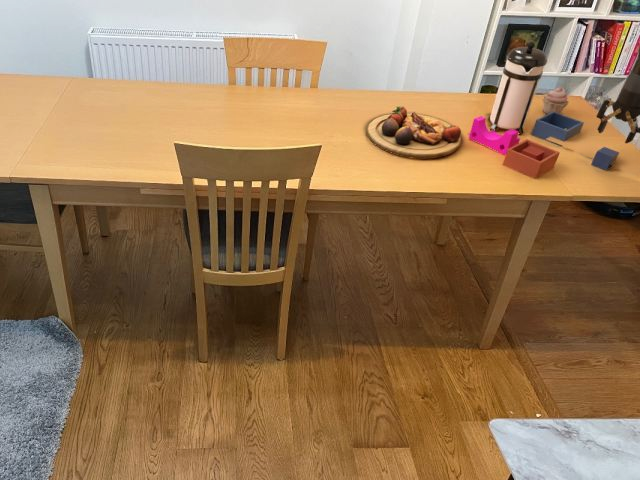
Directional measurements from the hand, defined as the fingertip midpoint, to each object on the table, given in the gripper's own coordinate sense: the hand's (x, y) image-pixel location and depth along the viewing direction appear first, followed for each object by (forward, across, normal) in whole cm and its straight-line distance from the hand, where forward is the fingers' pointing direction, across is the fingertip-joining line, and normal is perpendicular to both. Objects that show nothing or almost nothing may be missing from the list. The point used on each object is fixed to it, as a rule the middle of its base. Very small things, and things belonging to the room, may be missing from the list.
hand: (613, 137), depth 185 cm
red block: (+9, -15, -20) cm, 26 cm away
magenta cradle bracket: (+10, -31, -16) cm, 36 cm away
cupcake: (+10, -32, +26) cm, 42 cm away
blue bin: (+10, -21, +8) cm, 24 cm away
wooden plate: (+11, -51, -34) cm, 62 cm away
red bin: (+10, -15, -20) cm, 27 cm away
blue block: (+10, 0, 0) cm, 10 cm away
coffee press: (+11, -37, +1) cm, 38 cm away
